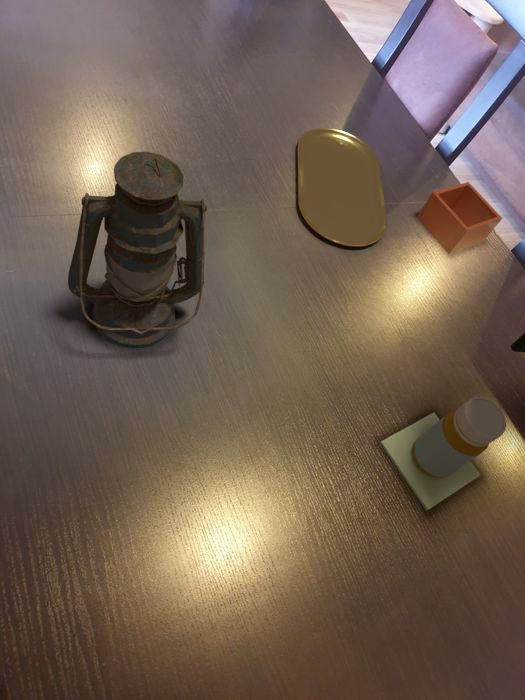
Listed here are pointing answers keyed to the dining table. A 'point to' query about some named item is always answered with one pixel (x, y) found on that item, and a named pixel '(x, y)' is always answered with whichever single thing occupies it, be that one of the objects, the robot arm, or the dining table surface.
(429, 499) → the mat
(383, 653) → the dining table surface
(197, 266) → the lantern
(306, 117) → the dining table surface
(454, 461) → the bottle
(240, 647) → the dining table surface
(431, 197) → the box
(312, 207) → the serving platter
